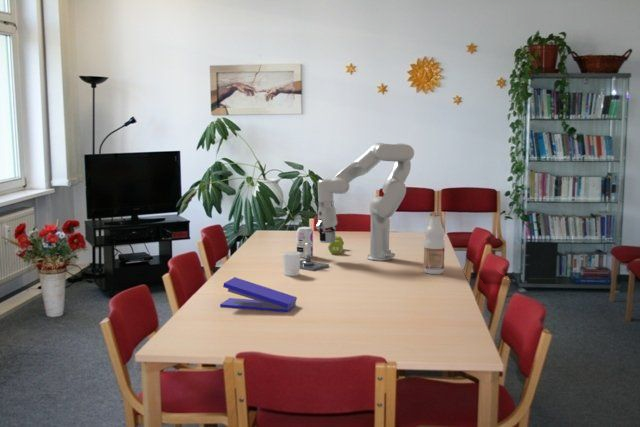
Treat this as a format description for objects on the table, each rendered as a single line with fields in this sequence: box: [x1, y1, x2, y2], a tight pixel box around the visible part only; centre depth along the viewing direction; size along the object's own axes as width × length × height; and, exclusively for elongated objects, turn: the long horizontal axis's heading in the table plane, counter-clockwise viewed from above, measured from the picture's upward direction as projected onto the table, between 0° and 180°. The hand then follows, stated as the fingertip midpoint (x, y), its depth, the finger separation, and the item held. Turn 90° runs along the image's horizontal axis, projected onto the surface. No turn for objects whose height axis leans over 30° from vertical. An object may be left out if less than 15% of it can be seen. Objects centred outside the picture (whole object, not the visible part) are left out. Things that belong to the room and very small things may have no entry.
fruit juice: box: [423, 212, 446, 275], centre depth 343 cm, size 9×9×28 cm
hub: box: [319, 229, 336, 244], centre depth 367 cm, size 7×7×5 cm
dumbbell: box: [327, 235, 345, 255], centre depth 392 cm, size 16×8×7 cm, turn 176°
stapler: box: [219, 277, 298, 313], centre depth 284 cm, size 12×28×10 cm, turn 75°
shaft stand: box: [299, 243, 330, 272], centre depth 354 cm, size 16×12×11 cm
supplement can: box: [296, 226, 314, 259], centre depth 377 cm, size 8×8×15 cm
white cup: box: [282, 251, 301, 277], centre depth 337 cm, size 8×8×10 cm
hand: (327, 239), depth 368 cm, fingers closed on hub, 7 cm apart
